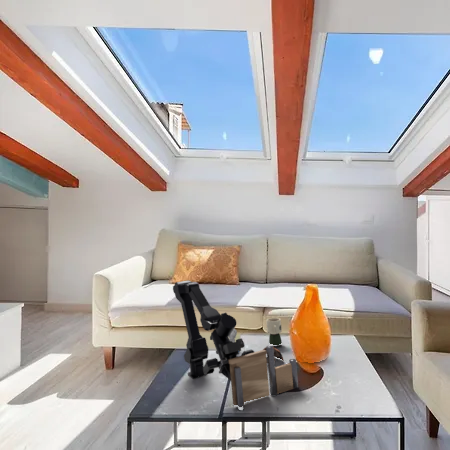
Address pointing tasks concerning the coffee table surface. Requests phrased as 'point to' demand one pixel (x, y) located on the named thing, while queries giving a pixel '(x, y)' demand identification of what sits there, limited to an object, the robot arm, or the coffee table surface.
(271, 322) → the character mug
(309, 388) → the coffee table surface
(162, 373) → the coffee table surface
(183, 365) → the coffee table surface
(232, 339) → the grey bust figurine
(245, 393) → the gate
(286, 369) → the gate frame
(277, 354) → the pottery mug
